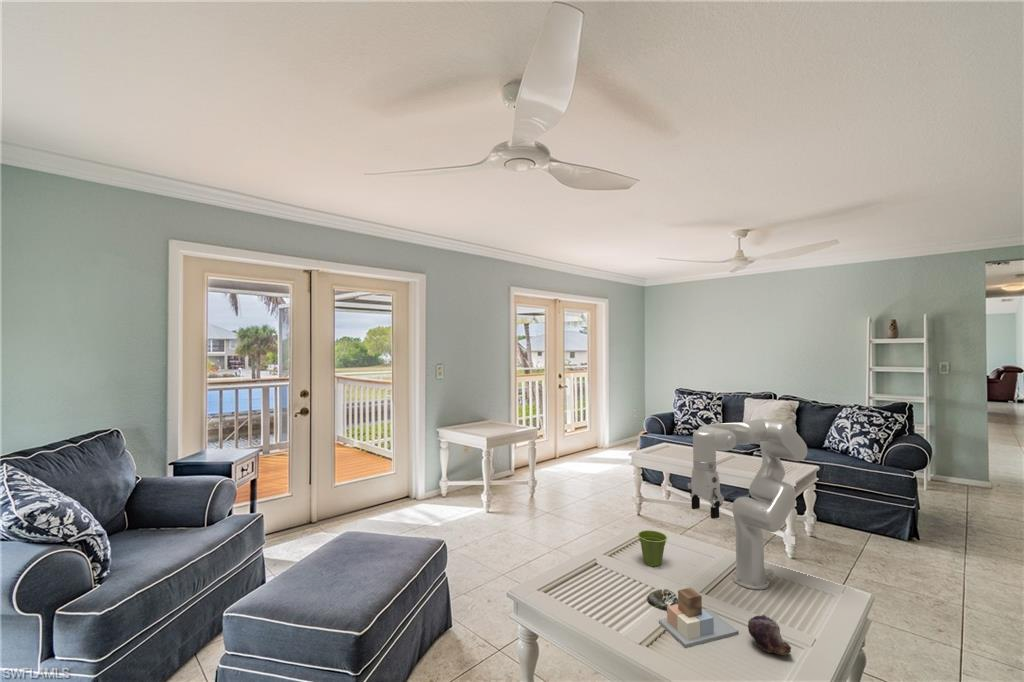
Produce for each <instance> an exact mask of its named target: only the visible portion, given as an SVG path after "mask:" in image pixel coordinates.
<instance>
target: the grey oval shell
mask: <svg viewBox="0 0 1024 682" xmlns="http://www.w3.org/2000/svg"><path fill="white" fill-rule="evenodd" d="M646 598H647V599H646V600H647V602H648V603H649V604H650V605H651V606H652V607H653V608H655V609H658V610H660V611H664V612H667V606H672V605H676V604H678V594H677V593H675V591H672V590H670V588H667V589H666V588H663V589H657V590H654V591H651V592H650V593H649V594H648V595H647V596H646Z"/></svg>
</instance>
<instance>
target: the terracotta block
mask: <svg viewBox="0 0 1024 682" xmlns="http://www.w3.org/2000/svg"><path fill="white" fill-rule="evenodd" d="M679 614H684V613H682V612H681V611H680V610H679V609H678V604H676V605H672V606H667V611H666V616H667V617H666V618H667V622H669V623H670V624H671V625H672V626H673V627H674V628H675V629H676V630H677V615H679Z"/></svg>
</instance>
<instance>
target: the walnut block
mask: <svg viewBox="0 0 1024 682" xmlns="http://www.w3.org/2000/svg"><path fill="white" fill-rule="evenodd" d="M702 596H703V595H701V594H700V593H699V592H697V591H696V590H695V589H693V588H692V587H688V588H682V589H679V590H677V599H678V609H679V610H680V611H681V612H682V613H684V614H685V615H686V616H687V617H688V618H690V617H694V616H699V615H702V609H703V599H702V598H703V597H702Z"/></svg>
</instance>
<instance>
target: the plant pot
mask: <svg viewBox="0 0 1024 682" xmlns="http://www.w3.org/2000/svg"><path fill="white" fill-rule="evenodd" d="M637 536H638V538H639V542H640V546H641V553H642V560H643V563H644V564H645V565H647V566H650V567H659V566H661V565H662V564H663V558H664V551H665V545H666V542H667V540H668V536H667V535H666V534H665V533H663V532H661V531H657V530H650V529H649V530H640V531H639V532H638V533H637Z"/></svg>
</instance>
